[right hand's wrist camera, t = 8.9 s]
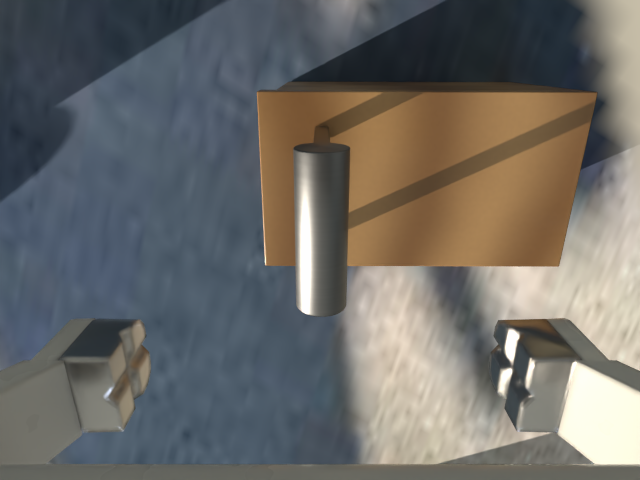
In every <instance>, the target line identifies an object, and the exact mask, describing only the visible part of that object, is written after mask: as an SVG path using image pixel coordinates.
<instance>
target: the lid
mask: <svg viewBox="0 0 640 480" xmlns="http://www.w3.org/2000/svg"><path fill="white" fill-rule="evenodd" d="M596 98H597V92H592V91H578V90H260V91H257V103H258V123H259V144H260V165H261V185H262V206H263V227H264V247H265V265H266V266H296V305H297V307H298V309H299V310H300V311H301V312H303V313H305V314H307V315H311V316H316V317H326V316H332V315H336V314H338V313H340V312H341V311H343V310H344V308H345V307H346V293H347V266H559V264H560V259H561V255H562V250H563V246H564V241H565V237H566V232H567V228H568V223H569V219H570V214H571V210H572V205H573V201H574V196H575V192H576V187H577V183H578V178H579V174H580V169H581V165H582V161H583V156H584V152H585V147H586V143H587V138H588V134H589V129H590V125H591V120H592V116H593V111H594V107H595V102H596Z"/></svg>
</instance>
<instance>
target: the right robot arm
mask: <svg viewBox="0 0 640 480" xmlns="http://www.w3.org/2000/svg"><path fill="white" fill-rule="evenodd" d="M145 338H146V331H145V327H144V323H143V322H142V321H141V320H136V319H95V318H91V319H73V320H70V321H69V322H68V323H67V324H66V325H65V326H64V327H63V328H62V329H61V330H60V331H59V332H58V333H57V334H56V335H55V336H54V337H53V338H52V339H51V340H50V341H49V342H48V343H47V344H46V346H45V347H44V348H43V349H42V350H41V351H40V352H39V353H38V354H37V355H36V356H35V357H34V358H33V359H32V360H28V361H21V362H19V363H17V364H15V365H13V366H10V367H8V368H6V369H4V370H2V371H0V480H640V371H638V370H636V369H634V368H632V367H630V366H627V365H625V364H623V363H621V362H619V361H613V360H608V359H607V358H606V357H605V356H604V355H603V354H602V353H601V352H600V351H599V350H598V349H597V347H596V346H595V345H594V344H593V343H592V342H591V341H590V340H589V339H588V338H587V337H586V336H585V335H584V334H583V333H582V332H581V331H580V330H579V329H578V328H577V327H576V326H575V325H574V324H573V323H572V322H571V321H570V320H568V319H565V318H558V319H529V320H498V322H497V324H496V326H495V331H494V338H495V339H496V341H497V342H498V344H499V345H498V346H497V347H496V348H495V349H494V350H493V351H492V352H491V354H490V362H489V370H490V378H491V382H492V385H493V387H494V389H495V391H496V393H497V394H498V395H499V396H501V397H502V398H504V399H505V400H506V403H505V410H506V412H507V414H508V416H509V418H510V419H511V421H512V423H513V425H514V427H515V429H516V430H517V431H521V432H557V433H558V435H559V436H560V437H562V438H563V439H564V440H565V441H567V442H568V443H569V444H570V445H572V446H573V447H574V448H575V449H577V450H578V451H579V452H580V453H582V454H583V455H584V456H585V457H587V458H588V459H589V460H590V461H592V462H593V463H594V464H46V463H47V462H48V461H50V460H51V459H52V458H53V457H55V456H56V455H57V454H59V453H60V452H61V451H62V450H64V449H65V448H66V447H67V446H69V445H70V444H71V443H72V442H74V441H75V440H76V439H77V438H79V437H80V436H81V435H82V433H83V432H118V431H124V429H125V427H126V425H127V423H128V421H129V419H130V418H131V416H132V414H133V412H134V410H135V403H134V400H135V399H136V398H138V397H139V396H141V395H142V394H143V393H144V391H145V389H146V387H147V385H148V382H149V377H150V373H151V360H150V354H149V352H148V351H147V350H146V349H145V348H144V347H143V346H142V345H141V344H142V343H143V341H144V339H145Z"/></svg>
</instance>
